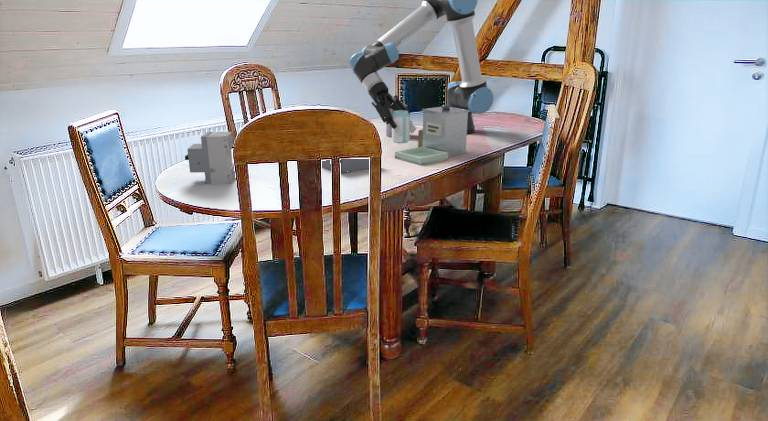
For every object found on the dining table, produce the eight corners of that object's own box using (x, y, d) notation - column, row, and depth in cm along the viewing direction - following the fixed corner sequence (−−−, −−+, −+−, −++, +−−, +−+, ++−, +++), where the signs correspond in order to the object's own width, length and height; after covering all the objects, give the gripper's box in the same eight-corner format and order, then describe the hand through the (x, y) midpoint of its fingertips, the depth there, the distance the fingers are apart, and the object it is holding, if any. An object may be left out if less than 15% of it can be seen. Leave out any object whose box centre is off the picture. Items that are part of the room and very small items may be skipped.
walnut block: (424, 145, 226) (424, 128, 224) (434, 146, 223) (435, 129, 221) (418, 147, 222) (418, 130, 220) (428, 148, 219) (429, 131, 217)
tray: (422, 152, 212) (422, 146, 211) (447, 159, 202) (448, 152, 201) (394, 158, 204) (395, 151, 203) (420, 165, 193) (420, 158, 193)
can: (389, 140, 215) (389, 110, 211) (406, 139, 217) (406, 109, 213) (395, 144, 209) (395, 113, 205) (412, 142, 211) (412, 112, 207)
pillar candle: (408, 134, 249) (408, 100, 244) (405, 138, 240) (406, 103, 235) (387, 133, 251) (387, 100, 246) (384, 137, 241) (383, 103, 237)
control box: (443, 147, 221) (445, 102, 215) (467, 153, 212) (469, 105, 206) (420, 152, 213) (421, 104, 207) (443, 157, 204) (445, 108, 198)
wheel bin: (354, 159, 202) (354, 143, 200) (377, 166, 191) (377, 149, 190) (318, 165, 192) (317, 149, 190) (340, 173, 182) (340, 156, 180)
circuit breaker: (191, 177, 176) (186, 132, 172) (236, 177, 178) (232, 131, 173) (185, 184, 169) (180, 136, 165) (232, 183, 171) (228, 136, 166)
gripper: (387, 91, 224) (418, 134, 219) (353, 96, 209) (386, 142, 205) (396, 78, 219) (428, 122, 214) (363, 83, 204) (396, 130, 200)
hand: (407, 132), depth 209 cm, fingers closed on can, 7 cm apart
